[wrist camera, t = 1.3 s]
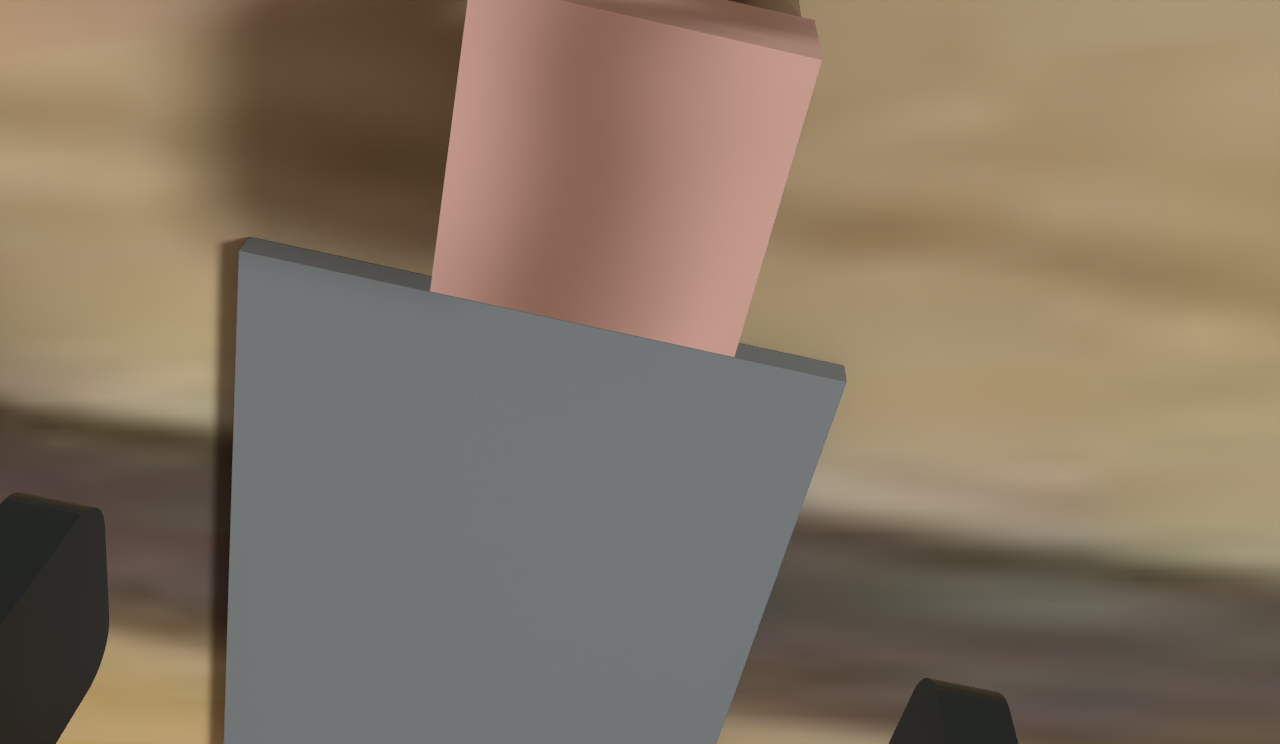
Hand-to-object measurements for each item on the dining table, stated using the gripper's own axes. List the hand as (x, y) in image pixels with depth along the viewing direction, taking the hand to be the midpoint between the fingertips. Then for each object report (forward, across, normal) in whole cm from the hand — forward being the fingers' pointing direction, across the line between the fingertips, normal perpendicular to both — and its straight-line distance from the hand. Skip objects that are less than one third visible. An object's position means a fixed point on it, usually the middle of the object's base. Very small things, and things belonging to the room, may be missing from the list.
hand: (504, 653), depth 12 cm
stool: (+19, 0, 0) cm, 19 cm away
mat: (+19, +1, +17) cm, 26 cm away
